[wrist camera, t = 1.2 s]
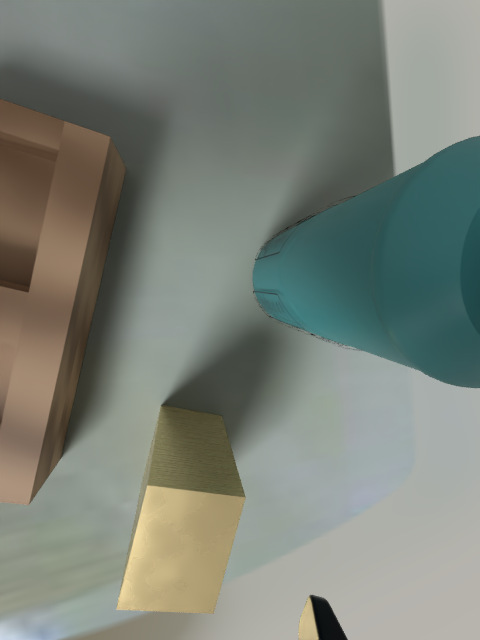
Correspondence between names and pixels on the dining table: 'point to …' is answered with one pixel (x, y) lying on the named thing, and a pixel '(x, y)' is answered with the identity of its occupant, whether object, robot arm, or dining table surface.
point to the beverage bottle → (390, 269)
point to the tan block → (183, 516)
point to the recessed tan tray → (47, 281)
